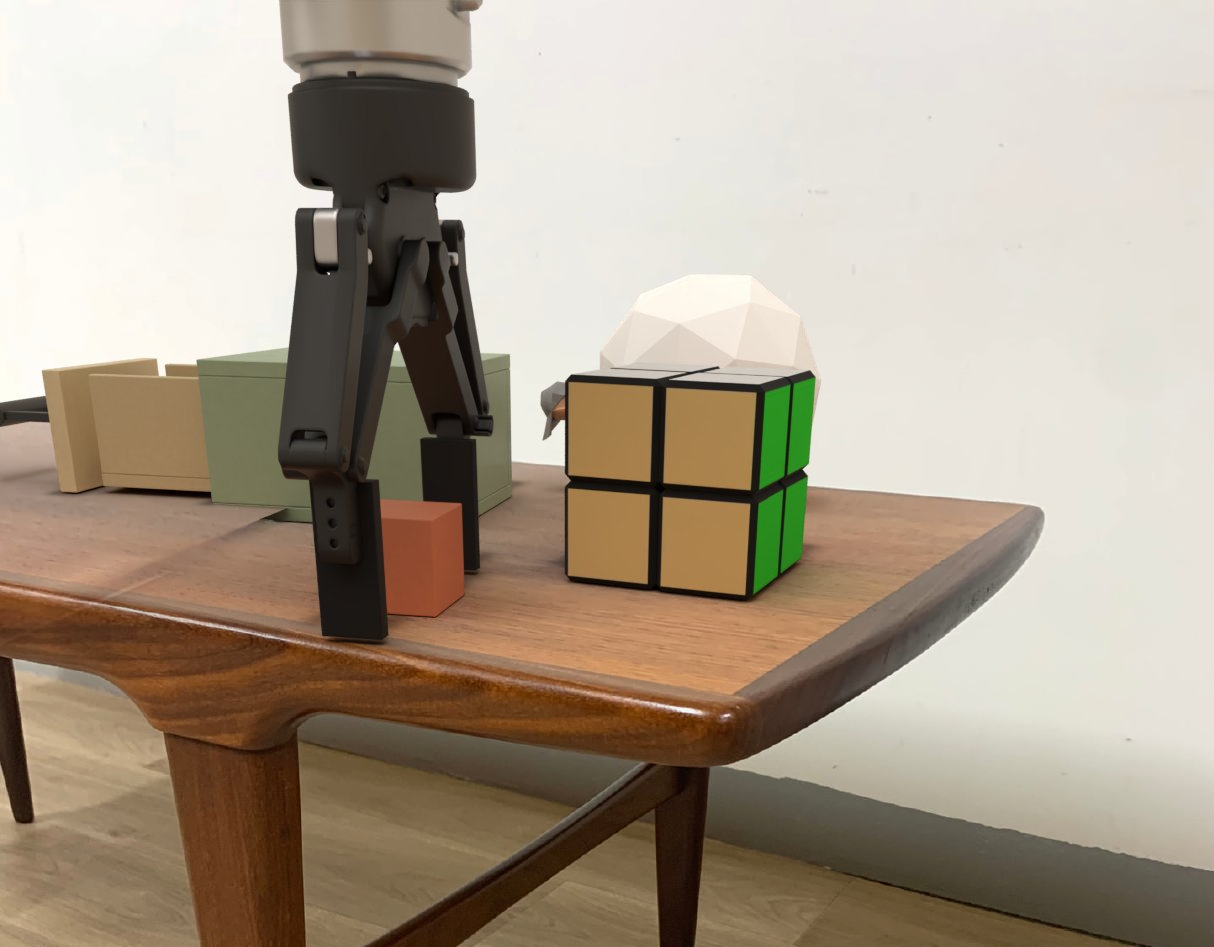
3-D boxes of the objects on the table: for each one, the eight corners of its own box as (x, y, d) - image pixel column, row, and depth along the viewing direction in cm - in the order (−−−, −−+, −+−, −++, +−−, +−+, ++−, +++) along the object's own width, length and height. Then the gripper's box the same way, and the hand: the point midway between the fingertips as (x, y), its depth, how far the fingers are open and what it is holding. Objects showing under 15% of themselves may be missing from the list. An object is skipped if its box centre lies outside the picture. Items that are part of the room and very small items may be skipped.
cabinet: (213, 517, 78) (195, 359, 74) (299, 485, 89) (288, 347, 86) (455, 531, 75) (449, 367, 71) (512, 496, 87) (510, 354, 83)
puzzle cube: (633, 545, 72) (638, 361, 68) (803, 562, 69) (818, 370, 65) (561, 581, 64) (561, 374, 60) (750, 603, 60) (764, 384, 56)
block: (344, 610, 58) (338, 514, 56) (379, 589, 62) (374, 498, 60) (435, 617, 57) (431, 520, 55) (464, 594, 61) (462, 503, 59)
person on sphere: (842, 442, 91) (583, 463, 97) (824, 223, 82) (539, 261, 88) (817, 540, 81) (529, 555, 87) (794, 301, 71) (472, 337, 77)
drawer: (-34, 486, 81) (-56, 366, 78) (71, 462, 92) (54, 355, 89) (272, 503, 77) (260, 377, 74) (345, 475, 88) (337, 364, 85)
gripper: (351, 26, 39) (391, 681, 47) (545, 115, 61) (549, 549, 70) (131, 32, 40) (209, 668, 49) (399, 117, 63) (420, 542, 71)
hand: (409, 599), depth 59 cm, fingers open, 13 cm apart
